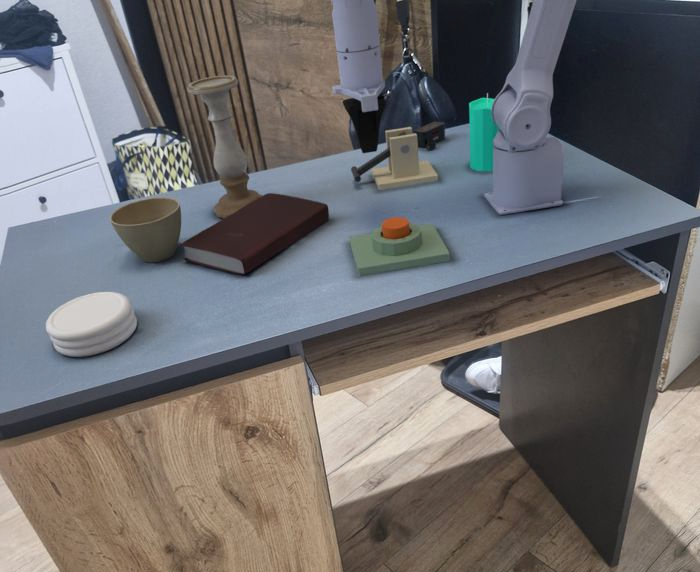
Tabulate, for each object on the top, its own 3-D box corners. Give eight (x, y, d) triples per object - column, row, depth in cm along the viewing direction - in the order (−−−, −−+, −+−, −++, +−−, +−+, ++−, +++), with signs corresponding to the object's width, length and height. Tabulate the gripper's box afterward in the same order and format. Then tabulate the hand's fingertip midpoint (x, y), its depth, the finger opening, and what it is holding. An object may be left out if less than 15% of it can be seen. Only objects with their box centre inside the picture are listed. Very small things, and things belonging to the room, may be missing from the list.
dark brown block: (411, 149, 122) (410, 132, 120) (435, 138, 125) (434, 121, 124) (430, 152, 119) (429, 135, 117) (454, 141, 122) (453, 124, 121)
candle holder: (234, 197, 112) (205, 74, 100) (276, 200, 108) (252, 73, 97) (205, 218, 106) (170, 89, 94) (249, 221, 102) (219, 88, 91)
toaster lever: (358, 186, 107) (351, 175, 105) (355, 176, 111) (347, 165, 109) (415, 149, 104) (408, 137, 103) (409, 140, 108) (402, 128, 107)
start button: (407, 227, 87) (406, 215, 86) (412, 238, 84) (411, 225, 83) (381, 231, 87) (379, 219, 86) (385, 242, 84) (384, 230, 83)
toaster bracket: (379, 191, 106) (374, 144, 102) (372, 175, 113) (367, 130, 108) (438, 182, 106) (436, 134, 102) (427, 166, 113) (425, 121, 108)
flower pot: (133, 278, 90) (116, 231, 86) (120, 253, 98) (104, 209, 94) (200, 256, 94) (187, 210, 90) (182, 234, 101) (170, 191, 97)
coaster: (58, 369, 73) (46, 344, 71) (52, 330, 81) (41, 306, 79) (144, 340, 76) (135, 315, 74) (131, 305, 84) (122, 281, 82)
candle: (465, 163, 112) (464, 91, 105) (499, 158, 112) (500, 86, 105) (474, 174, 107) (474, 100, 100) (510, 169, 107) (511, 94, 100)
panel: (433, 230, 91) (432, 210, 90) (450, 261, 83) (449, 240, 81) (350, 244, 91) (347, 224, 89) (359, 276, 83) (356, 255, 81)
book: (331, 221, 98) (328, 201, 96) (246, 278, 86) (241, 256, 84) (270, 211, 105) (266, 191, 103) (183, 262, 93) (177, 241, 91)
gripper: (323, 43, 89) (336, 140, 97) (332, 62, 77) (346, 172, 85) (373, 35, 90) (382, 133, 97) (390, 53, 78) (398, 163, 85)
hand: (369, 151), depth 91 cm, fingers closed
